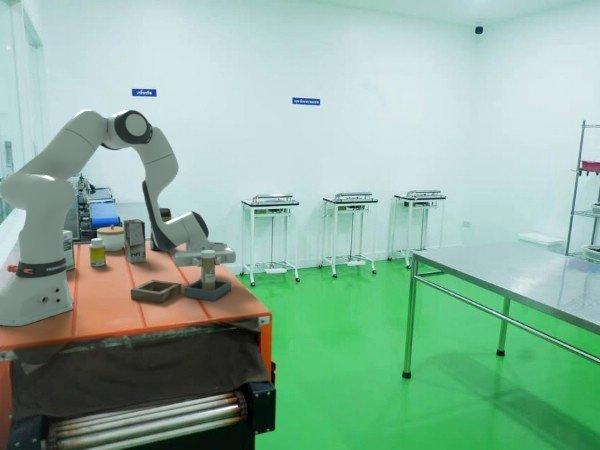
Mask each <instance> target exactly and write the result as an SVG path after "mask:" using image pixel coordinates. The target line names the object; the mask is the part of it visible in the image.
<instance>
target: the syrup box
mask: <svg viewBox="0 0 600 450" xmlns="http://www.w3.org/2000/svg"><path fill="white" fill-rule="evenodd" d="M73 237H74V236H73V231H72V230H68V229H63V248H64V256H65V257H66V266H67V269H66V270H65V271H66V272H67V271H70V270H73V269H75V268H76V260H75V250H74V238H73Z"/></svg>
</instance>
